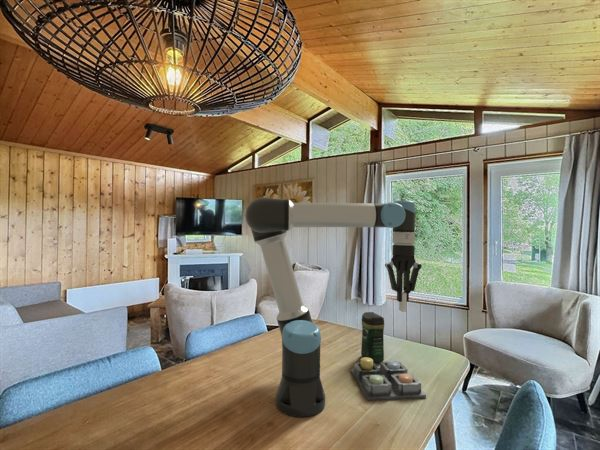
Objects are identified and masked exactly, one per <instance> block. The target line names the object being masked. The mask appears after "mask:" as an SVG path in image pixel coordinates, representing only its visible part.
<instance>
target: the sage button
mask: <svg viewBox="0 0 600 450" xmlns="http://www.w3.org/2000/svg"><path fill="white" fill-rule="evenodd" d="M370 383H371V384H383V377H381V376H379V375H371V376H370Z"/></svg>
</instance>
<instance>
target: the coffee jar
mask: <svg viewBox="0 0 600 450" xmlns="http://www.w3.org/2000/svg"><path fill="white" fill-rule="evenodd" d="M384 318H385V317H383V316H381V315H379V314H377V313H375V312H373V311H369V312H367V311H366V312H364V313H362V315H361V326H362V327H361V328H362V329H361V333H362V334H361V348H360V349H361V358H363V357H368V358H371V359H373V363H375V364H378V363H379V364H380V362H384V361H385V353H384V352H385V351H384V350H385V349H384V348H385V347H384V344H385V343H384V332H385V331H384V330H385V319H384Z"/></svg>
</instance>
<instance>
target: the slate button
mask: <svg viewBox="0 0 600 450" xmlns="http://www.w3.org/2000/svg"><path fill="white" fill-rule="evenodd" d="M394 361H395V360H393V361H391V360H390V362H388V363H387V367H388V368H389V369H400V364H399V363H397V362H398V361H396V362H394Z"/></svg>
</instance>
